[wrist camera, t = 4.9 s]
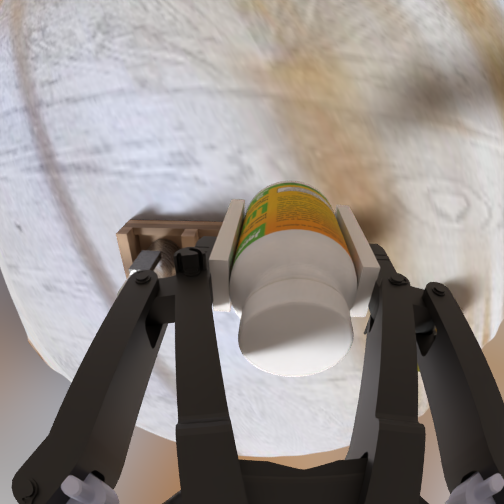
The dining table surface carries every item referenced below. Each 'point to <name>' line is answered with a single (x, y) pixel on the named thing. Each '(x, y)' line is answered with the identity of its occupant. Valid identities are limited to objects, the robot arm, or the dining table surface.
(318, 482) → the robot arm
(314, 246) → the supplement bottle
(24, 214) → the dining table surface
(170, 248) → the glass spice jar
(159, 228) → the wooden spice rack
